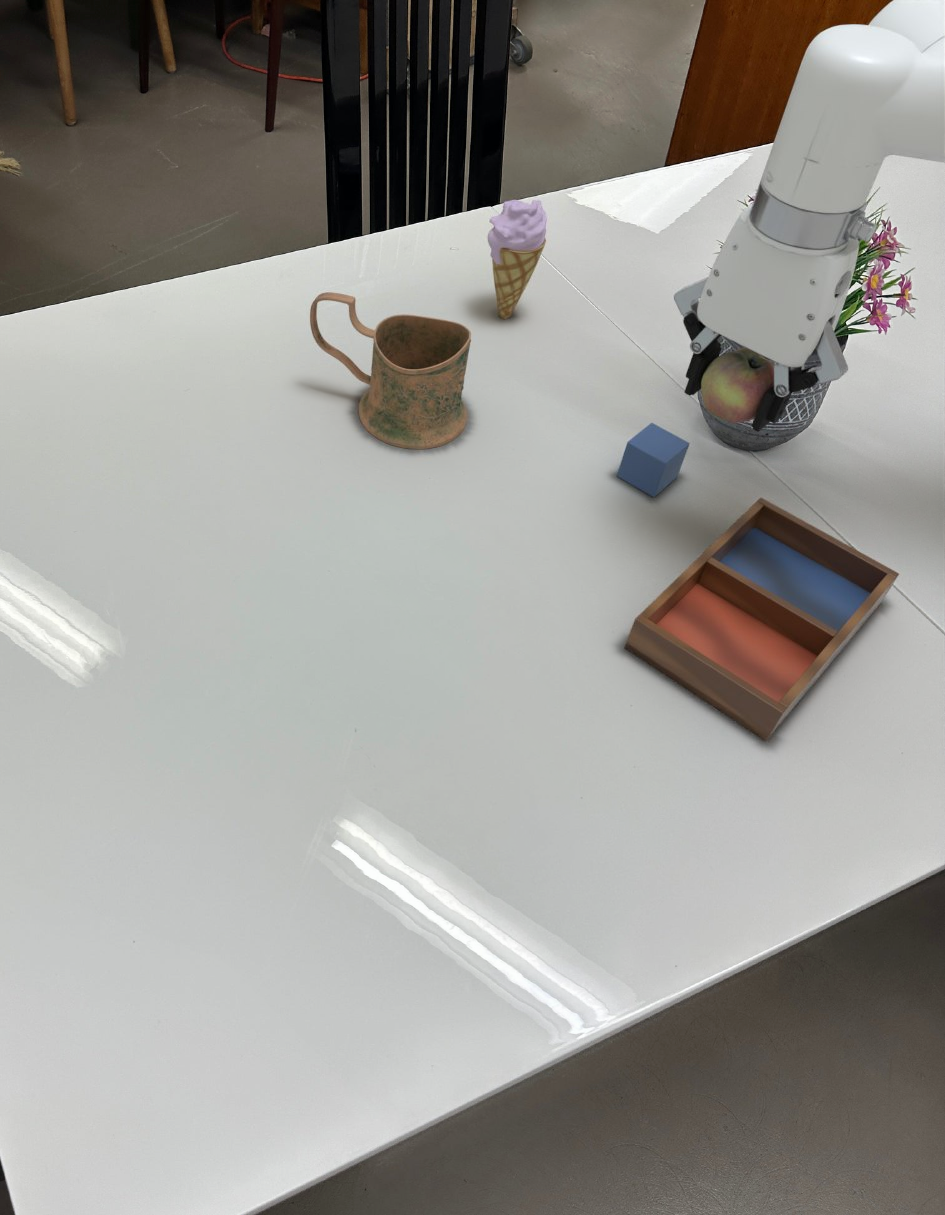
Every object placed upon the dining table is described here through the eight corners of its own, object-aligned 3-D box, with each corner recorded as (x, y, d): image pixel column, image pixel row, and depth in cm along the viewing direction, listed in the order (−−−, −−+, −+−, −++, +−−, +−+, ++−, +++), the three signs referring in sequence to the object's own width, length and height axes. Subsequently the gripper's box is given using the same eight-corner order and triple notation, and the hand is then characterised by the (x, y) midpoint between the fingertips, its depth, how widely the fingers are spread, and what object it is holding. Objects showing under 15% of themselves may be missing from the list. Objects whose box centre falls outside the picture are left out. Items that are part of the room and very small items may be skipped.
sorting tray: (747, 526, 106) (760, 496, 104) (881, 602, 100) (899, 573, 98) (623, 647, 95) (634, 618, 92) (766, 741, 89) (783, 713, 86)
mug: (328, 357, 122) (332, 261, 113) (479, 396, 118) (496, 300, 109) (289, 417, 114) (290, 319, 105) (449, 460, 111) (464, 363, 102)
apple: (683, 431, 93) (703, 375, 89) (700, 380, 98) (720, 324, 94) (753, 451, 92) (777, 395, 87) (768, 398, 97) (791, 342, 92)
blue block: (640, 456, 113) (651, 422, 109) (677, 477, 111) (690, 443, 108) (616, 476, 111) (627, 441, 107) (653, 498, 109) (666, 463, 105)
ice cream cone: (502, 338, 126) (524, 217, 115) (463, 313, 129) (481, 194, 118) (539, 317, 129) (565, 198, 118) (501, 294, 132) (522, 176, 121)
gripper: (936, 240, 79) (840, 433, 92) (729, 155, 86) (668, 345, 100) (890, 278, 75) (797, 473, 89) (678, 185, 83) (622, 379, 96)
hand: (729, 404), depth 94 cm, fingers closed on apple, 6 cm apart
